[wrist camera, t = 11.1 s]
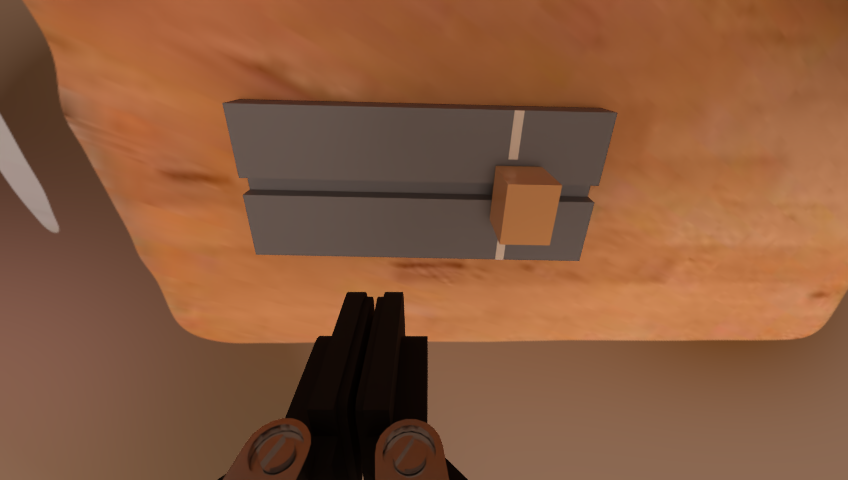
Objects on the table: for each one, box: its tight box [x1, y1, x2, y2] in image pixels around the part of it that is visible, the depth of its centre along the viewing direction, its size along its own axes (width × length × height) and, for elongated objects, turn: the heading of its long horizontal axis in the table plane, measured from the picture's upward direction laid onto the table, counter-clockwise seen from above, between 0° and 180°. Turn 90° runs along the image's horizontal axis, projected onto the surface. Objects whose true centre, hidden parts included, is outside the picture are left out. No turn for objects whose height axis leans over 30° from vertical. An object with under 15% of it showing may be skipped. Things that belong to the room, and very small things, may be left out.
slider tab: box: [490, 166, 562, 245], centre depth 30 cm, size 4×5×7 cm
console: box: [223, 99, 617, 261], centre depth 33 cm, size 32×14×3 cm, turn 89°
